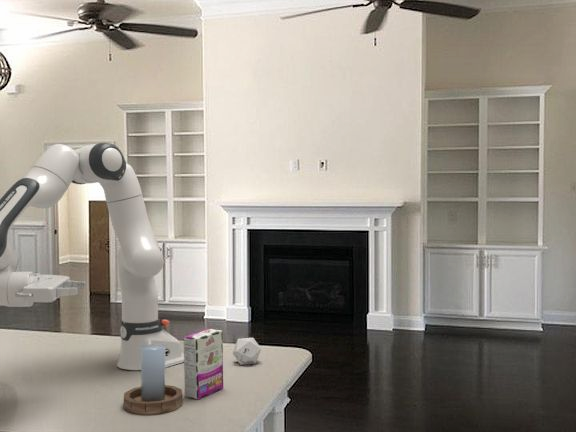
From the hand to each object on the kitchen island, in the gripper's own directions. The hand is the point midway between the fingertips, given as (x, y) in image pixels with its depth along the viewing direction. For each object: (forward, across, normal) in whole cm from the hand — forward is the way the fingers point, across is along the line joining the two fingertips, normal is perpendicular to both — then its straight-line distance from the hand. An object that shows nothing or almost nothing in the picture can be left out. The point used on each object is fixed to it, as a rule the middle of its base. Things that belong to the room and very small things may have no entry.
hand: (81, 288), depth 161 cm
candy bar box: (+31, +5, +30) cm, 44 cm away
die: (+44, +33, +30) cm, 63 cm away
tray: (+18, -3, +30) cm, 35 cm away
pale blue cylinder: (+18, -2, +29) cm, 34 cm away
